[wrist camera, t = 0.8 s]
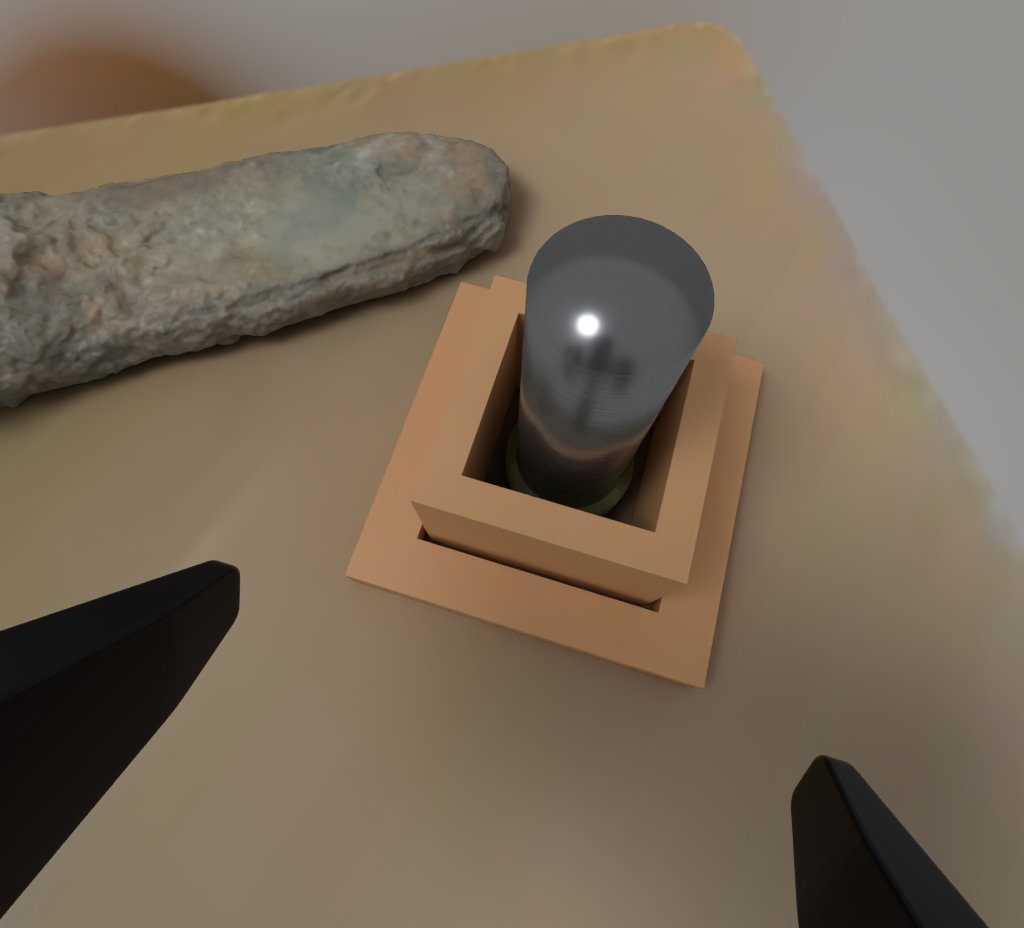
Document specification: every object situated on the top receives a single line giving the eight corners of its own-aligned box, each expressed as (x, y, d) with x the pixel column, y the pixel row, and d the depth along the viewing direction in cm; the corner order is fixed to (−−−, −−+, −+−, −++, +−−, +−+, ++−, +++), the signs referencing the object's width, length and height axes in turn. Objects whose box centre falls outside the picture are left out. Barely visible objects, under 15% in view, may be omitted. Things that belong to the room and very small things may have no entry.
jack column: (610, 544, 23) (710, 420, 12) (489, 508, 23) (478, 355, 12) (638, 432, 24) (750, 230, 13) (525, 400, 25) (543, 179, 14)
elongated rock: (542, 310, 29) (478, 164, 32) (555, 224, 24) (478, 64, 27) (-335, 530, 23) (-292, 320, 26) (-557, 476, 18) (-466, 228, 21)
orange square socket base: (693, 687, 22) (753, 691, 16) (352, 580, 23) (307, 551, 17) (752, 376, 26) (815, 300, 21) (462, 298, 27) (453, 207, 22)
